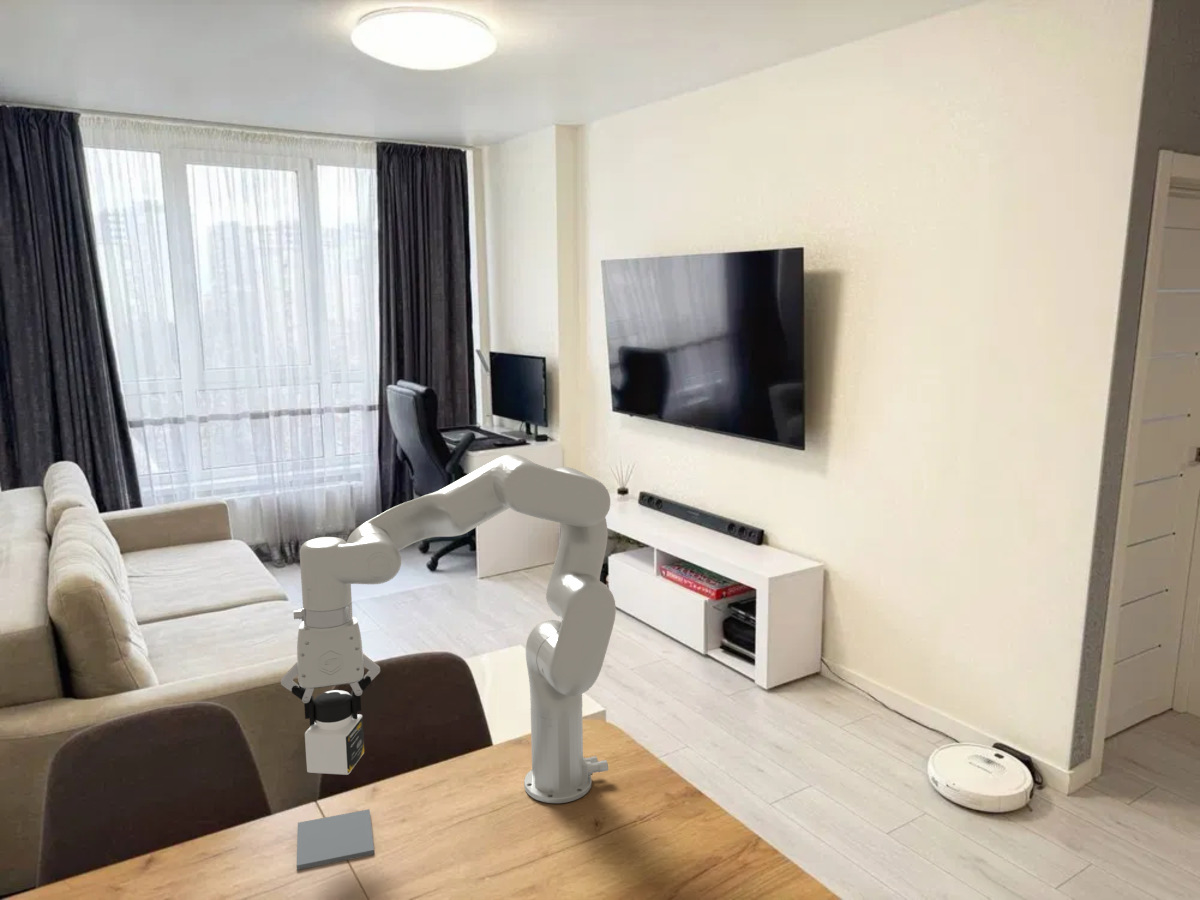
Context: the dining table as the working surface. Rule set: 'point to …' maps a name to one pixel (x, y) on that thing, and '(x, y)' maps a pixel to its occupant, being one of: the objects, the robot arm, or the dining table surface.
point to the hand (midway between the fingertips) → (333, 717)
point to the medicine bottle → (334, 735)
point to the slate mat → (334, 839)
